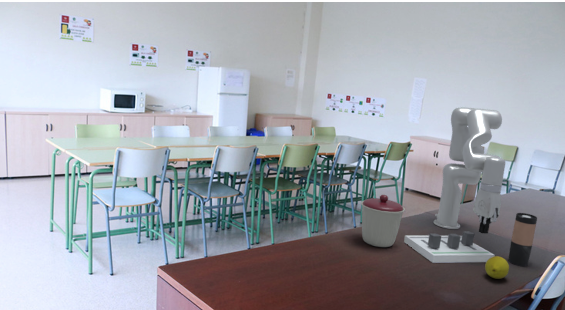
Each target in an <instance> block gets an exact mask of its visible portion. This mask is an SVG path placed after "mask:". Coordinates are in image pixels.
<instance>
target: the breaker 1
mask: <svg viewBox="0 0 565 310" xmlns="http://www.w3.org/2000/svg"><path fill="white" fill-rule="evenodd" d="M428 236H429V240H428V246H429V247H431V248H440V242H441V236H442V235H440V234H438V233H429V234H428Z"/></svg>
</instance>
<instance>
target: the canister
mask: <svg viewBox="0 0 565 310" xmlns="http://www.w3.org/2000/svg"><path fill="white" fill-rule="evenodd" d="M360 205H361V206H362V209H361V215H362V216H361V235H362V240H363V241H364V242H365V243H366V244H368V245H370V246H373V247H377V248H389V247H392V246H393V245H394V243H396V242H395V241H396V240H397V236H398V232H399V229H400V225H401V220H402V218H403V213H405V212H406V211H405V210H406V208H405V206H402V204H400V203H399V202H397V201H393V200H390V199H389V196H388V195H386V194H381V195H379V198H377V197H376V198H373V197H372V198H367V199H364V200H362V201H360Z"/></svg>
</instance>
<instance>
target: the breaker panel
mask: <svg viewBox="0 0 565 310" xmlns="http://www.w3.org/2000/svg"><path fill="white" fill-rule="evenodd" d="M440 236H441V242H440V248H431V247H429V246H428V240H429V235H404V238H403V239H404V241H403V243H405V244H406V245H407V244H408V247H410V248H411V247H412V248H411V249H413V250H415V251H416V252H417V253H418V254H419V255H421V256H422V257H424V258H425V259H427V260H428V261H430V262H431V263H432V264H436V263H437V264H439V263H440V264H442V263H449V264H450V263H454V264H456V263H486V262H487V260H488V259H490V258H491V257H494V256H495V255H496V254H494V253H492V252H490V251H489V250H487V249H485V248H483V247H481V246H480V245H478V244H476V243H474V242H473V245H464V244H463V243H461V240H462V235H460V236H461V237H460V243H459V248H450V247H449V246H447V241H448V235H440Z"/></svg>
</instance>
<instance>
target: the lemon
mask: <svg viewBox="0 0 565 310" xmlns="http://www.w3.org/2000/svg"><path fill="white" fill-rule="evenodd" d="M484 265H485V267H484V270H485V272H486V275H488V276H489V277H491V278H492V279H497V280H500V279H503V278H505V277H506V276H507V275H508V274H509V270H510V265H509V263H508V261H507V259H505V258H503V257H501V256H497V255H496V256H494V257H491V258H490V259H488V260H487V262H485V264H484Z"/></svg>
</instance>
